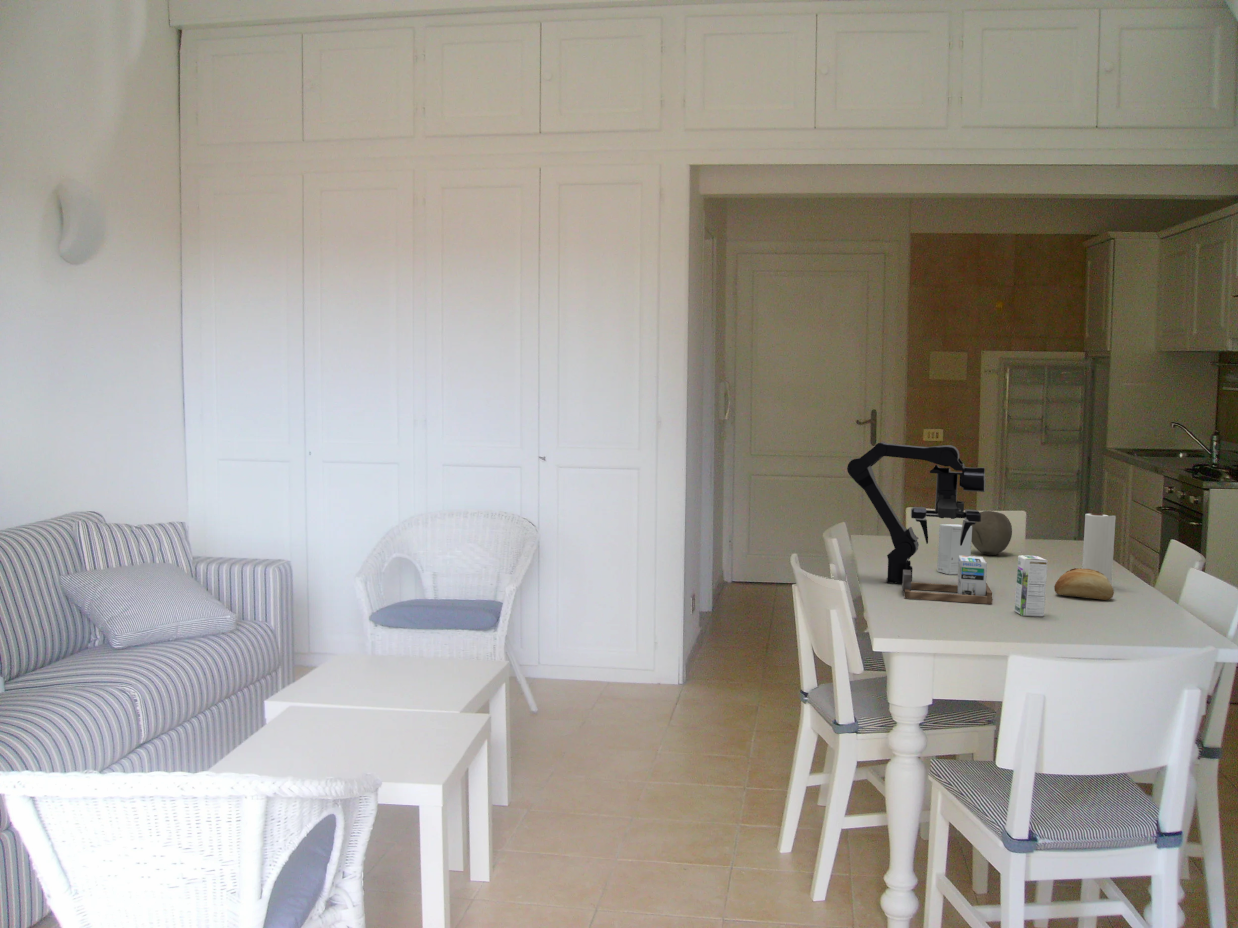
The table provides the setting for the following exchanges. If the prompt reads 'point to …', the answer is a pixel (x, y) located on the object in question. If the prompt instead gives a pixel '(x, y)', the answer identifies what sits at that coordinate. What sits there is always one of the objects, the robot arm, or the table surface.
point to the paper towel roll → (1099, 543)
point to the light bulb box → (972, 575)
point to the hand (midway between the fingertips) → (943, 544)
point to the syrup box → (1030, 585)
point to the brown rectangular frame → (909, 594)
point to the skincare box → (952, 547)
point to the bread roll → (1084, 584)
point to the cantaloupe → (991, 533)
